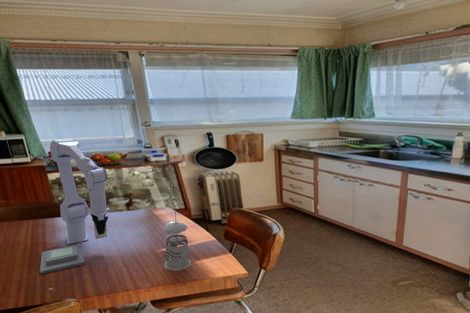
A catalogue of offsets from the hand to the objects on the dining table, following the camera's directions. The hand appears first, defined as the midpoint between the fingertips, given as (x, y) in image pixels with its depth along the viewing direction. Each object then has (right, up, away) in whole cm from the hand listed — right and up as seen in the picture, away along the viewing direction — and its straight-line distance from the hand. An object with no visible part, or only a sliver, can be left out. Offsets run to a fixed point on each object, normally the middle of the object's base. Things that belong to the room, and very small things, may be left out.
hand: (100, 232), depth 126 cm
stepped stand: (-12, -9, -6) cm, 16 cm away
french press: (+32, -9, -11) cm, 35 cm away
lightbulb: (+29, -7, +3) cm, 30 cm away
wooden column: (0, -2, 0) cm, 2 cm away
